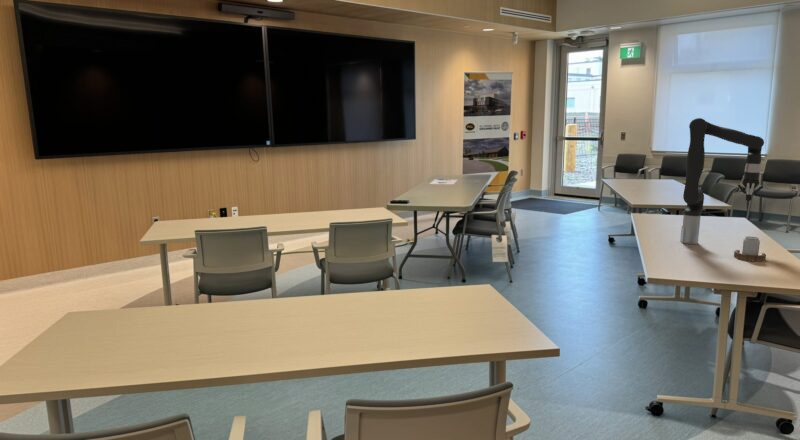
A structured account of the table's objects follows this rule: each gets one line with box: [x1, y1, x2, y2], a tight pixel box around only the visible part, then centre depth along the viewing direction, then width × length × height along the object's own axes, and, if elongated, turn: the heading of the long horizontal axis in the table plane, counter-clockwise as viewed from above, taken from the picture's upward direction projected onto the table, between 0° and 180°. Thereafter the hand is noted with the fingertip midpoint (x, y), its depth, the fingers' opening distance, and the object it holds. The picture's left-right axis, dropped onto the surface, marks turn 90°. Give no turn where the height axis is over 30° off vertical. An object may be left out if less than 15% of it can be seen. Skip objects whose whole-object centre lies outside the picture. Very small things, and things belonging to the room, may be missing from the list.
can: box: [741, 235, 761, 256], centre depth 294 cm, size 8×8×12 cm
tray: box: [733, 249, 767, 262], centre depth 296 cm, size 15×13×3 cm
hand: (748, 200), depth 317 cm, fingers closed
